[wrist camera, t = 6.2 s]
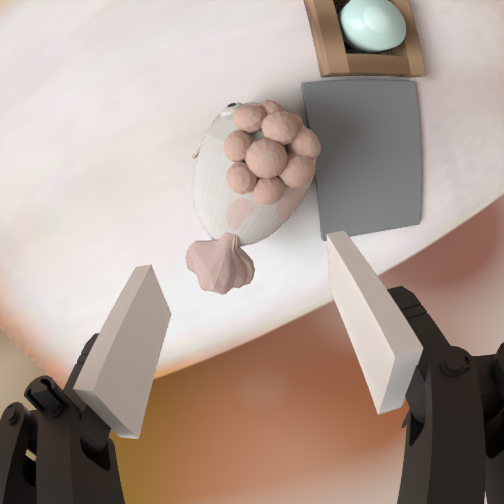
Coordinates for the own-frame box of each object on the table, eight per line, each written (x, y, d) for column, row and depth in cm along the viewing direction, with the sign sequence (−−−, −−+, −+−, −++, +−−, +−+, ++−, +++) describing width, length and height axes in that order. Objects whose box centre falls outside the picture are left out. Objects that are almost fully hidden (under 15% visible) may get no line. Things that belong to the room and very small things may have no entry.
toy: (324, 132, 25) (365, 144, 16) (258, 262, 31) (264, 324, 23) (224, 88, 23) (213, 74, 14) (169, 229, 29) (141, 282, 20)
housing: (300, -11, 18) (306, -23, 15) (391, -5, 17) (404, -13, 15) (320, 77, 22) (329, 73, 20) (410, 77, 22) (425, 76, 19)
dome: (328, 4, 18) (343, -12, 14) (380, 8, 18) (400, -4, 14) (340, 54, 21) (357, 45, 17) (391, 55, 20) (414, 50, 17)
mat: (301, 83, 23) (302, 82, 22) (410, 81, 22) (414, 81, 21) (321, 237, 30) (323, 241, 29) (416, 221, 29) (420, 224, 29)
